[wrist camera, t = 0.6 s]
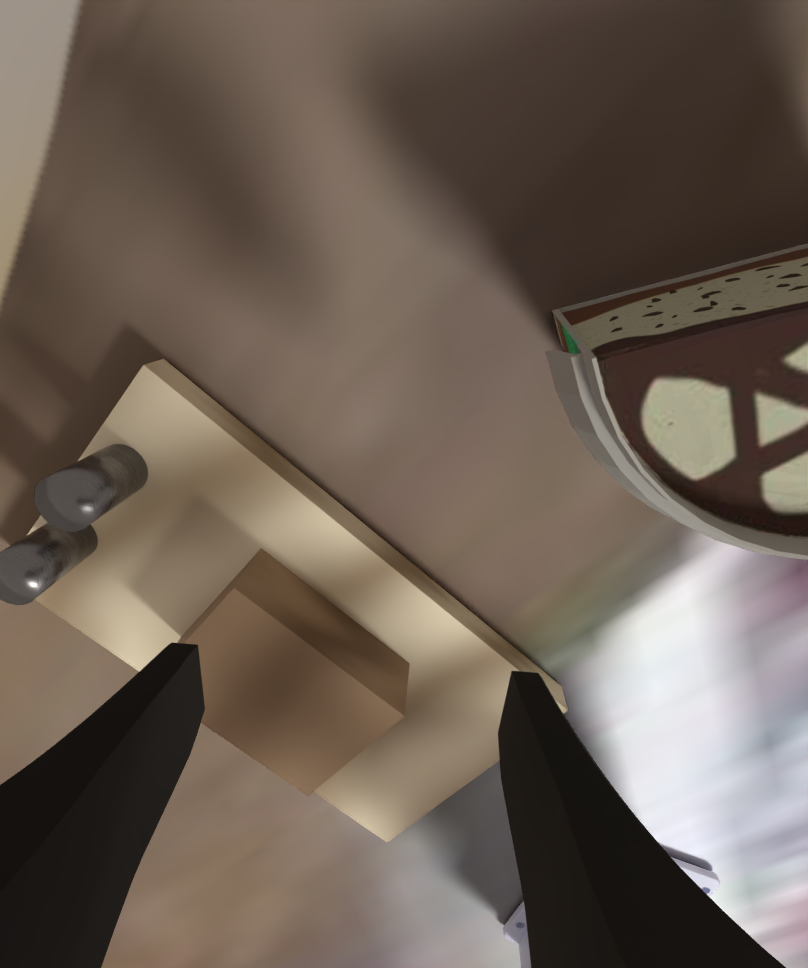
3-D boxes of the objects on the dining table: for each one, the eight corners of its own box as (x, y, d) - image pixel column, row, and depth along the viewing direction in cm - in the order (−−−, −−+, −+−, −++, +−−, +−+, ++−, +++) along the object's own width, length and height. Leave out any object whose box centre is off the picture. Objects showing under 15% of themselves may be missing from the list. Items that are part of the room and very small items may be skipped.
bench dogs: (157, 467, 21) (104, 503, 18) (83, 566, 23) (22, 614, 20) (113, 433, 21) (52, 463, 18) (41, 536, 23) (-27, 581, 19)
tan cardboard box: (409, 663, 24) (404, 716, 21) (323, 738, 26) (307, 796, 23) (261, 548, 22) (234, 588, 19) (181, 636, 24) (146, 685, 21)
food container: (539, 478, 22) (607, 631, 13) (509, 321, 20) (562, 365, 10) (883, 404, 20) (1268, 521, 11) (889, 221, 18) (1371, 167, 9)
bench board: (561, 686, 25) (568, 710, 24) (390, 815, 29) (387, 842, 28) (163, 358, 21) (143, 364, 20) (24, 558, 25) (-1, 575, 24)
